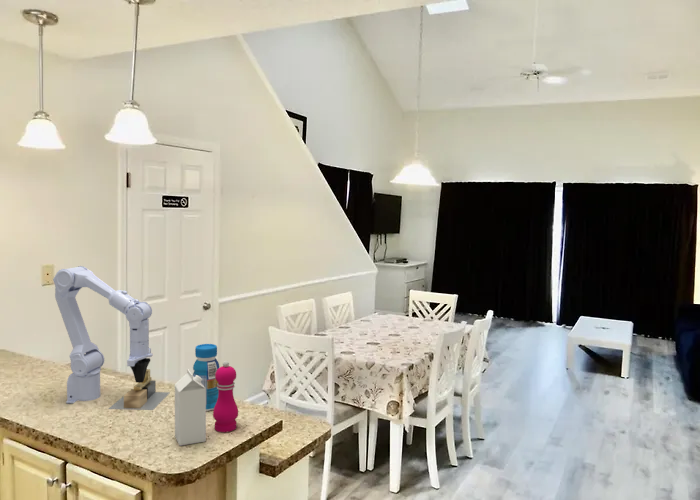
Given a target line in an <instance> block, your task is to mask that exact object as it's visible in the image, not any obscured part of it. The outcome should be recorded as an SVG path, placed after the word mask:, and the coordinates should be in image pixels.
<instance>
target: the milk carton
mask: <svg viewBox="0 0 700 500" xmlns="http://www.w3.org/2000/svg"><path fill="white" fill-rule="evenodd" d="M186 371H187V372H186V373H185V374H184V375H183V376H182V377H181V378H180V379H179V380H177V382H175V384H174V437H175V439H176V441H177V444H178V446H179V447H180V446H186V445H191V444H197V443H204V442H206V441H207V440H206V439H207V437H206V435H207V434H206V433H207V427H206V426H207V419H206V418H207V415H206V414H207V411H206V389H205V387H204V386H203V384H202V383H201V381H202V378H201V377H199V376H198V375H196V376H195V377H194V376H193V373H192V372H191V371H190V369H189V368H187V369H186Z"/></svg>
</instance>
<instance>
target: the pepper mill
mask: <svg viewBox="0 0 700 500" xmlns="http://www.w3.org/2000/svg"><path fill="white" fill-rule="evenodd" d="M215 378H216V380H217V381H218V383H217V389H218V391H219V394H218V400H217V402H216V405H215V407H214V410H212V417H213V419H214V420H215V421H214V430H215V431H216V432H219V433H229V432H232V431H235V430H236V429H237V427H238V426H237V420H236V419H237V418H238V416H239V407H238V404H237V403H236V400H235V398H234V388H235V387H236V386H235V381H236V380H237V371H236V369H235V368H234V367H233V366H230V362H229V361H228V360H224V361H223V362H222V366H219V368H218V369H217V371H216V373H215Z"/></svg>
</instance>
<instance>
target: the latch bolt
mask: <svg viewBox="0 0 700 500" xmlns="http://www.w3.org/2000/svg"><path fill="white" fill-rule="evenodd" d="M151 380H152V377H151V369H149V368H147V370H146V374H145V378H144V381H143V382H142V383H139V382H137V384H135V385H134V386H133V389H134V390H135V391H140V390H141V389H142V388H143V387H145V386H146V385H147V384H148V383H149V382H150V381H151Z"/></svg>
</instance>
